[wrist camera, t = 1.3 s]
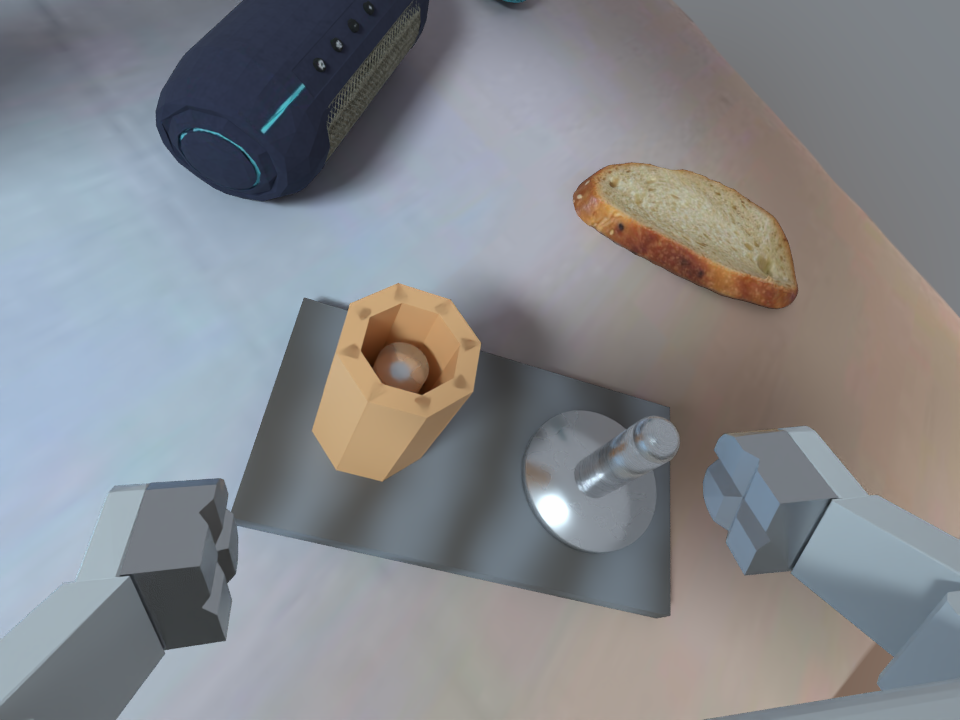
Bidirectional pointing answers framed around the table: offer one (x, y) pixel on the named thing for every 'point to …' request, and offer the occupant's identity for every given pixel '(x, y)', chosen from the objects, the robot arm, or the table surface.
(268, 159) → the portable speaker
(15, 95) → the table surface
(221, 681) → the table surface
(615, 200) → the slice of bread
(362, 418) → the sleeve
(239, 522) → the board
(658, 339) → the table surface
